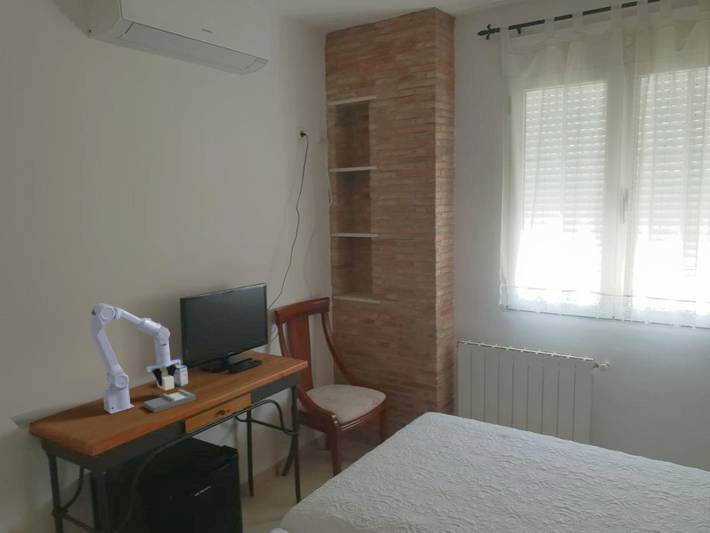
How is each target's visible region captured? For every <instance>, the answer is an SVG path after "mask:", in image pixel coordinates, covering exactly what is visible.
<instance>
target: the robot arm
mask: <svg viewBox="0 0 710 533" xmlns="http://www.w3.org/2000/svg"><path fill="white" fill-rule="evenodd" d="M113 319H114V320H117V319H118V320H119V319H120V320H121V319H122V320H123V321H126V322H129V324H133V325H135V326H136V328H137V330H138V331H140V332H142V333H144V334H147V335H148V336H151V337H153V338H154V350H155V360H156V362H155V363H154V364H151V365H148V366H146V372H148V373H151V372H152V374H153V375H154V377H155V378H156V382H157V381H158V384H159V386H162V374H163V371H162V370H163V369H165V368H166V371H167V374H168V375H171V376H174V373H175V370H176V366H175V365H181V364H182V361H181V359H173V360H171V353H170V352H171V350H170V342H169V338H170V336H171V332H170V330H169V329H168V328H167V327H165V326H163V325H161V323H160V322H155V321H153V320H152V318H150V317H142V318H140V317H137V316H136V315H133V314H132V313H130V312H128V311H126V310H125V309H122V308H120V307H116V306H113V305H109V304H107V303H104V302H100V303H97V304H95V305H94V307H93V308H92V309H91V311H90V319H89V325H88V331H89V333H90V335H91V336H90V337H91V338H92V340H93V342H94V345H95V346H96V349H97V350H98V354H99V355H100V357H101V361H102V362H103V364H104V366H105V371H106V380H107V382H108V383H109V387H108V389H107V390H104V391H103V393H102V397H103V410H104V411H106V412H107V413H109V414H110V415H111V414H115V413H118V412H123V411H126V410H128V409H132V408H135V406H134V405H133V404H131V398H130V390H129V383H130V377H129V375H127V374H126V373H125V372H124V370H123V368H122V367H121V365H120V364H119V361H118V359H117V357H116V355H115V352H114V350H113V347H112V345H111V344H110V341H109V338H108V337H107V334H106V331H105V329H106V326H107V325H108V324H109V323H110V322H111V321H112V320H113Z"/></svg>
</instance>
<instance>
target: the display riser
mask: <svg viewBox="0 0 710 533" xmlns="http://www.w3.org/2000/svg"><path fill="white" fill-rule="evenodd" d="M177 390H178V391H177V392H173V393H170V394H168V393H162V396H160V397H157V398H153V399H150V400H146V401H143V407H144V408H145V409H147V410H149V411H151V412H153V413H157V412H162V411H164V410H168V409H171V408H174V407H177V406H180V405H184V404H188V403H190V402H194V401H196V400H197V398H196V397H197V396H196V394H194V393H192V392H190V391H187V390H183V389H181V388H180V389H177Z"/></svg>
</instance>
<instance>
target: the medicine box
mask: <svg viewBox="0 0 710 533" xmlns="http://www.w3.org/2000/svg"><path fill="white" fill-rule="evenodd" d="M175 366H176V370H175V373H174V376H173V378H174V386H176V387H177V386H179V387H183V386H185V385H187V384H189V378H188V367H187V365H181V364H179V365H175Z"/></svg>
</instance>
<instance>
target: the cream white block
mask: <svg viewBox="0 0 710 533" xmlns="http://www.w3.org/2000/svg"><path fill="white" fill-rule="evenodd" d="M156 385H157V388H160V389H161V390H164V391H168V390H173V389H174V388H175V385H174V378H173V376H171V375H168V373H166V372H164V373H162V386H159V384H158V381H157V380H156Z"/></svg>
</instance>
